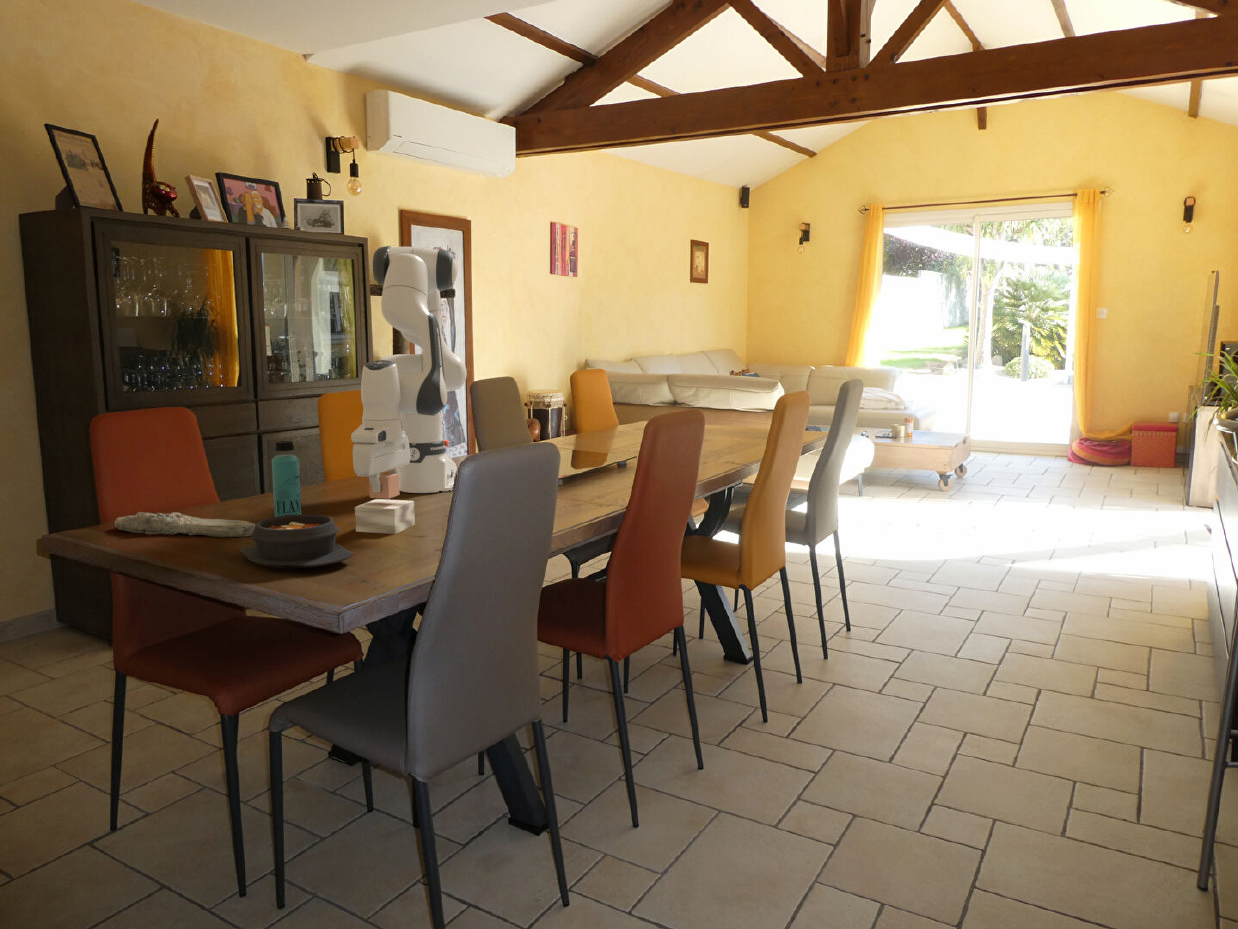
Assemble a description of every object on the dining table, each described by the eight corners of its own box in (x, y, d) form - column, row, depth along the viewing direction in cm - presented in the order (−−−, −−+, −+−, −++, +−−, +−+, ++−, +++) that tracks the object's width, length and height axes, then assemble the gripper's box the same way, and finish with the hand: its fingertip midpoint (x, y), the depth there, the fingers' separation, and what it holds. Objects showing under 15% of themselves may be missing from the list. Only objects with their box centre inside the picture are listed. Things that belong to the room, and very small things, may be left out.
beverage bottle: (273, 527, 214) (268, 443, 211) (275, 521, 220) (270, 439, 217) (302, 525, 216) (297, 442, 212) (303, 519, 222) (299, 439, 219)
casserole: (375, 560, 185) (373, 520, 184) (301, 582, 169) (299, 538, 168) (293, 544, 198) (291, 506, 196) (217, 563, 182) (215, 522, 181)
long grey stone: (241, 547, 201) (266, 539, 211) (242, 524, 201) (266, 516, 211) (102, 532, 207) (132, 524, 217) (102, 509, 206) (132, 503, 216)
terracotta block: (380, 493, 215) (379, 473, 214) (399, 494, 214) (398, 474, 213) (369, 497, 210) (368, 476, 210) (389, 498, 209) (388, 477, 208)
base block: (377, 523, 219) (376, 498, 218) (414, 525, 217) (414, 501, 216) (355, 532, 210) (354, 507, 209) (395, 534, 207) (394, 509, 206)
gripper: (392, 425, 220) (394, 481, 223) (346, 435, 201) (349, 496, 203) (415, 426, 219) (417, 482, 221) (371, 436, 199) (374, 498, 202)
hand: (384, 489), depth 212 cm, fingers closed on terracotta block, 5 cm apart
